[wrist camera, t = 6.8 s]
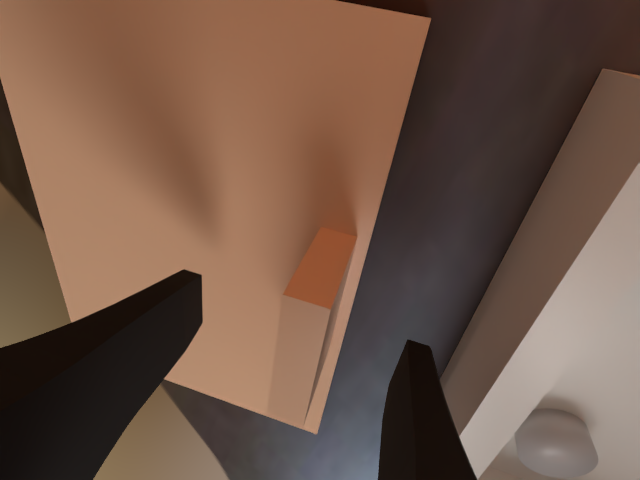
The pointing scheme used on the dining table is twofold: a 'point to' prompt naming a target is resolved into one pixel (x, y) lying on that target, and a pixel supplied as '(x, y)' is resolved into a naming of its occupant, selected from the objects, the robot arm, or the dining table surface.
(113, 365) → the robot arm
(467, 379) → the parts tray
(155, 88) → the lid
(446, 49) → the dining table surface
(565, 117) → the dining table surface
